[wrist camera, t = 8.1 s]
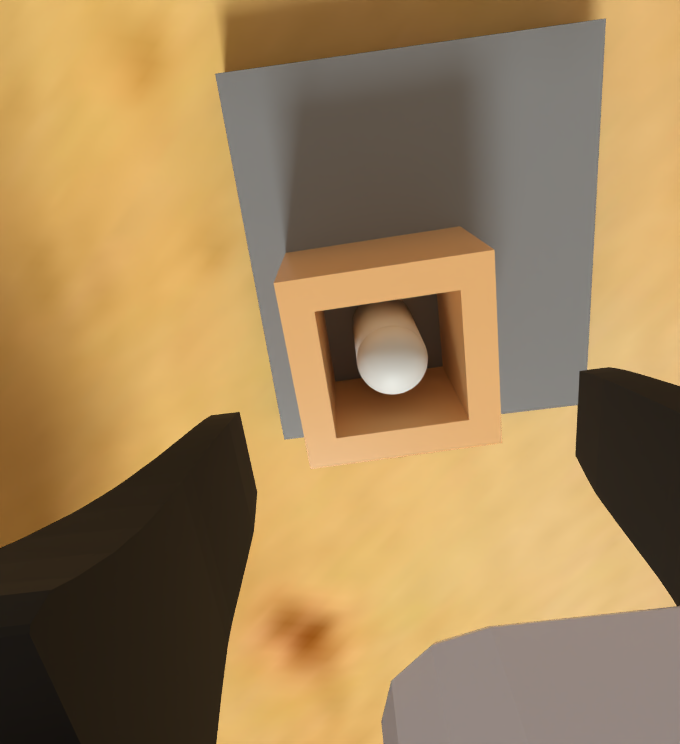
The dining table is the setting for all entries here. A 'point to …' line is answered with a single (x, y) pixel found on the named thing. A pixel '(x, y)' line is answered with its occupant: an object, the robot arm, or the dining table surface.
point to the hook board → (431, 194)
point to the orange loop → (439, 384)
